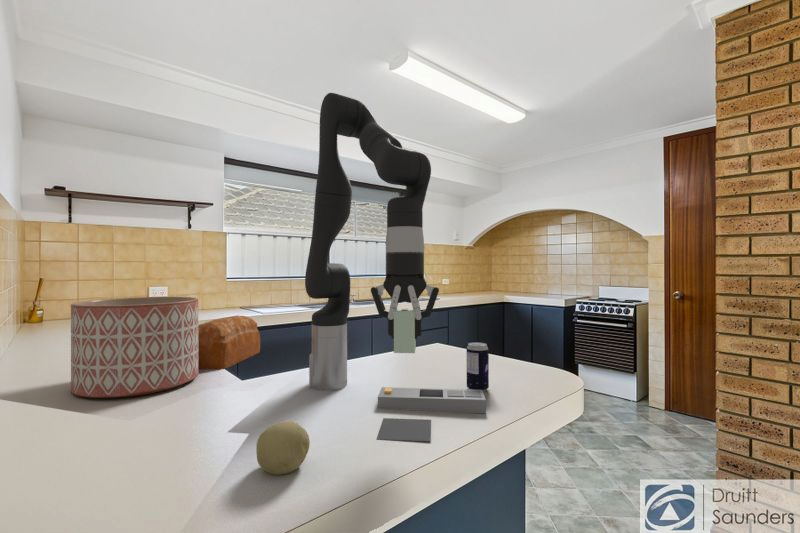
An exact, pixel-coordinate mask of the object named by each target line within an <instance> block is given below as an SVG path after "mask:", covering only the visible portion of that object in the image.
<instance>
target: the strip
mask: <svg viewBox="0 0 800 533" xmlns="http://www.w3.org/2000/svg"><path fill="white" fill-rule="evenodd" d="M377 409H384V410H385V409H386V410H387V409H388V410H390V409H391V410H403V411H404V410H406V411H407V410H408V411H422V412H423V411H426V412H442V413H443V412H444V413H460V414H461V413H462V414H464V413H465V414H487V398H486V397H485V394H484V392H483V391H482V390H471V389H469V388H467V389H464V388H463V389H462V388H461V389H460V388H431V387H430V388H428V387H426V388H425V387H424V388H422V387H390V386H389V387H386V386H383V387H382V386H381V388H380V391H379V393H378V396H377Z"/></svg>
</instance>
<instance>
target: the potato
mask: <svg viewBox="0 0 800 533" xmlns="http://www.w3.org/2000/svg"><path fill="white" fill-rule="evenodd" d="M310 442H311V441H310V437H309V434H308V432H307V430H306V429H305V428H304V427H303V426H301V425H300V424H298V423H297V422H295V421H292V420H284V421H279V422H277V423H273V424H271V425H270V426H269V427H267V428H265V429H264V430H263V431H262V432H261V433H260V435H259V436H258V438H257V441H256V445H255V446H256V448H255V449H256V461H257V464H258V465H259V467H260V469H262V470H264V471H265V472H267V473H269V474H272V475H277V476H280V475H286V474H289V473H292V472H294V471H296V470H297V469H298V468H299V467H301V465H302V464H303V462H304V461H305V459H306V458H307V455H308V452H309V450H310Z"/></svg>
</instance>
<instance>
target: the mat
mask: <svg viewBox="0 0 800 533" xmlns="http://www.w3.org/2000/svg"><path fill="white" fill-rule="evenodd" d="M431 435H432V419H423V418H419V419H418V418H416V419H415V418H394V417H393V418H388V417H387V418H385V417H383V419H382V421H381V425H380V427H379V430H378V433H377V437H376V440H378V441H394V442H411V443H412V442H413V443H425V444H426V443H427V444H431V441H432V439H431V437H432V436H431Z"/></svg>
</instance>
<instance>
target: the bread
mask: <svg viewBox="0 0 800 533" xmlns="http://www.w3.org/2000/svg"><path fill="white" fill-rule="evenodd" d="M260 352H261V335H260V331H259V329H258V323H257V322H256V321H255V320H254V319H253V318H252V317H251V318H250V317H249V316H245V315H233V316H232V315H231V316H226V317H221V318H217V319H212V320H210V321H206V322H204V323H200V324H198V370H224V369H227V368H230V367H232V366H235V365H236V364H238V363H241V362H242V361H244V360H246V359H248V358H250V357H253V356H255V355H257V354H259V353H260Z"/></svg>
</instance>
